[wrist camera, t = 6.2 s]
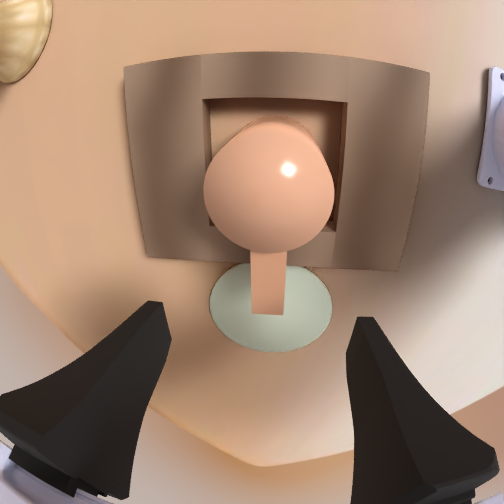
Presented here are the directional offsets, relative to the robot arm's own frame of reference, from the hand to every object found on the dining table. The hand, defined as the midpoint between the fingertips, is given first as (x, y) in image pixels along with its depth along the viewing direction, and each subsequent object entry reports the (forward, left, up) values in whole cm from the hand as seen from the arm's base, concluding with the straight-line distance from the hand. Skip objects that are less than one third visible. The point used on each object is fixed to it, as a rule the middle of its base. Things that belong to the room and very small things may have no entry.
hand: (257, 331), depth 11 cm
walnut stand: (0, -4, -9) cm, 10 cm away
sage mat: (0, +7, -9) cm, 11 cm away
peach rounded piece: (0, -2, -9) cm, 9 cm away
